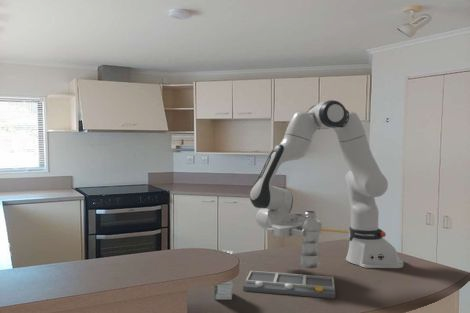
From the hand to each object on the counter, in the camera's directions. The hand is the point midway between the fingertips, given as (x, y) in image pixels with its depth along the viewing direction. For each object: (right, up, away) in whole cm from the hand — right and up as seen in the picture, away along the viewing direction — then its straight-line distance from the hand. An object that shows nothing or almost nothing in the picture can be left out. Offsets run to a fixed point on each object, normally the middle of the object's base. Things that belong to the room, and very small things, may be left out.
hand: (311, 232), depth 138 cm
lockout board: (-8, -19, -1) cm, 20 cm away
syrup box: (-31, -19, -10) cm, 38 cm away
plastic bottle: (0, -13, +1) cm, 13 cm away
